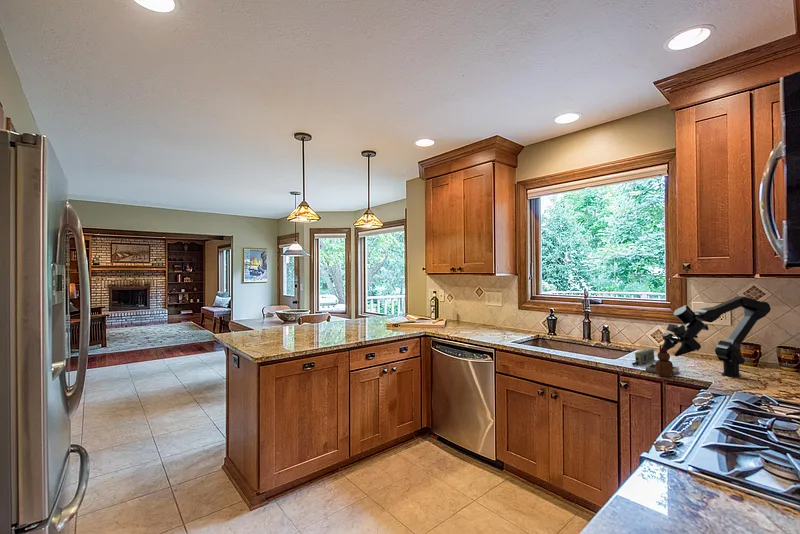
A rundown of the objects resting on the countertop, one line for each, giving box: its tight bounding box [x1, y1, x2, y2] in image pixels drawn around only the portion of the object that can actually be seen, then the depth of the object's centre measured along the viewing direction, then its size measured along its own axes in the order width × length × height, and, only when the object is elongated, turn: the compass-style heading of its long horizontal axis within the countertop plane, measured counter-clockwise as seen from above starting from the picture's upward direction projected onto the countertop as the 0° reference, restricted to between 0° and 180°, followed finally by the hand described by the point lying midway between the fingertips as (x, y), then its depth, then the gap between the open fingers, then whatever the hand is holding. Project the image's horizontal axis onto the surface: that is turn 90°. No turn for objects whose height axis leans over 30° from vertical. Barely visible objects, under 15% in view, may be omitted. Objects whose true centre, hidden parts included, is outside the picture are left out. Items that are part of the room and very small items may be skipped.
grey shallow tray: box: [645, 363, 680, 376], centre depth 190 cm, size 11×12×2 cm
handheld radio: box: [631, 347, 656, 366], centre depth 210 cm, size 7×3×25 cm
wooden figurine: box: [654, 344, 674, 378], centre depth 181 cm, size 7×6×15 cm
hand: (668, 353), depth 181 cm, fingers open, 9 cm apart
